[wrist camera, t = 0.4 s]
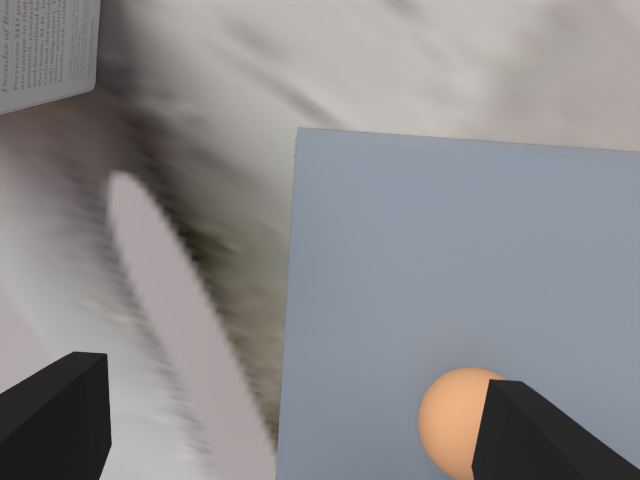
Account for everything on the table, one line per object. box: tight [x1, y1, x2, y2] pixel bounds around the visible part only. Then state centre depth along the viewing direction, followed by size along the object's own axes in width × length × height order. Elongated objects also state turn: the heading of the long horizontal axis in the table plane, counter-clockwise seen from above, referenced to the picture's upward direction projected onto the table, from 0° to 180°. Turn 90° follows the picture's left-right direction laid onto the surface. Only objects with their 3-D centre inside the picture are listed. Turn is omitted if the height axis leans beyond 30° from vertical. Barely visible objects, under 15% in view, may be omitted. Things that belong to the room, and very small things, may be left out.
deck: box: [276, 127, 640, 480], centre depth 20 cm, size 16×22×4 cm
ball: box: [418, 367, 507, 480], centre depth 17 cm, size 3×3×3 cm
